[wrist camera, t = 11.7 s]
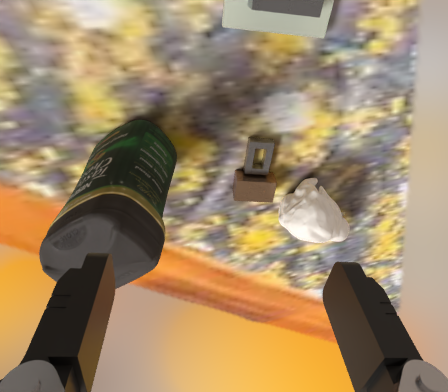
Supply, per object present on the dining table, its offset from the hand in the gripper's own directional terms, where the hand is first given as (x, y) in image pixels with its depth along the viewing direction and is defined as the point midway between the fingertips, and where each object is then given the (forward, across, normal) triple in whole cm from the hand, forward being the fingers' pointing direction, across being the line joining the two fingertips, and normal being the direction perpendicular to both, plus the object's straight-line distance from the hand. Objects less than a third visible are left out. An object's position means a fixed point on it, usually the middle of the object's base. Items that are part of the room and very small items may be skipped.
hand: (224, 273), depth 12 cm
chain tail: (+28, -7, +12) cm, 31 cm away
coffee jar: (+28, +8, +11) cm, 31 cm away
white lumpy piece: (+28, -16, +17) cm, 37 cm away
